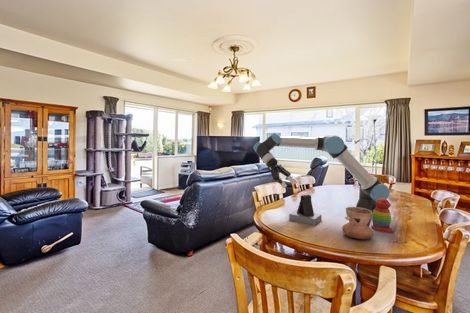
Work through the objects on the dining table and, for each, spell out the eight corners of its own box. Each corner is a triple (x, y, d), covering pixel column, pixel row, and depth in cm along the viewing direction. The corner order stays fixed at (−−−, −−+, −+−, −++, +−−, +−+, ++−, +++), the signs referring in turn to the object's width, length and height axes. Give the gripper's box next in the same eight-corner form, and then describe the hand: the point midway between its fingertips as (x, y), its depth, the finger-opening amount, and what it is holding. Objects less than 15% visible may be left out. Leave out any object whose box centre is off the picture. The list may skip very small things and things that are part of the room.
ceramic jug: (356, 244, 123) (358, 215, 122) (334, 233, 136) (335, 207, 135) (382, 239, 130) (384, 212, 129) (358, 229, 143) (360, 204, 142)
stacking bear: (395, 233, 138) (397, 201, 136) (374, 231, 140) (376, 200, 138) (387, 226, 148) (389, 196, 147) (368, 225, 150) (370, 195, 149)
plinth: (321, 220, 159) (321, 214, 158) (314, 225, 149) (314, 219, 149) (297, 214, 168) (297, 209, 168) (289, 219, 159) (289, 213, 159)
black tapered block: (314, 215, 156) (314, 196, 155) (306, 216, 153) (307, 197, 152) (304, 211, 164) (304, 193, 163) (296, 212, 161) (297, 194, 160)
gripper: (275, 163, 183) (294, 186, 175) (256, 166, 164) (277, 192, 156) (282, 156, 180) (302, 179, 172) (263, 158, 160) (285, 184, 152)
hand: (290, 185), depth 164 cm, fingers open, 13 cm apart
